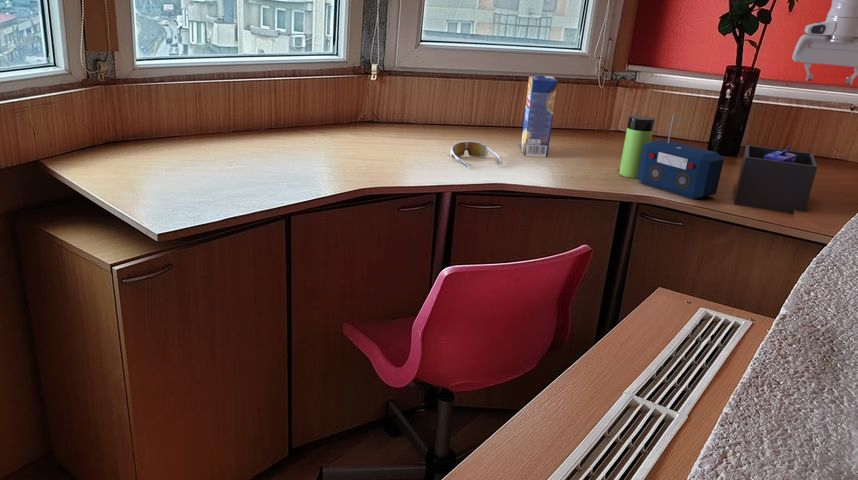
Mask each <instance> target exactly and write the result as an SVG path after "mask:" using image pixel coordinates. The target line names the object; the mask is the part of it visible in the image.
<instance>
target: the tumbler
mask: <svg viewBox="0 0 858 480" xmlns="http://www.w3.org/2000/svg"><path fill="white" fill-rule="evenodd" d="M655 122H656V118H655V117H653V116H649V115H648V116H647V115H639V114H632V115H629V116H628V121H627V126H626V132H625V137H624V143H623V150H622V155H621V161H620V167H619V173H618V174H619V175H620V176H622V177H625V178H628V179H629V178H630V179H638V178H637V177H638V172H639V166H640V161H641V155H642V150H643V145H645V144H647V143H650V142H652V140H653V139H652V138H653V133H654V128H655Z"/></svg>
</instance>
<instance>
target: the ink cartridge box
mask: <svg viewBox="0 0 858 480" xmlns="http://www.w3.org/2000/svg"><path fill="white" fill-rule="evenodd" d="M792 147H793V146H788V147H786V148H785V149H783V150H784V151H783V152H781V151H776V152H773V153H769V154H767V155H765V156H764V159H767V160H775V161H782V162H790V163H795V161H796V158H797V155H795V154H791V153H786V152H788V150H790V149H791V148H792Z"/></svg>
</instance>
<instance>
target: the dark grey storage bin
mask: <svg viewBox="0 0 858 480" xmlns="http://www.w3.org/2000/svg"><path fill="white" fill-rule="evenodd" d="M784 150H785V149H782V148H781V149H780V148H773V147H765V146H757V145H750V144H746V145H745V148H744V153H743V157H742V160H741V164H740V165H741V166H740V169H739V174H738V178H737V182H736V186H735V193H734V201H733V202H734V204H733V205H738V206H745V207H751V208H756V207H757V209H763V210H768V211H769V210H770V211H775V210H776V212H782V213H789V214H795V211H799V212H806V209H807V206H808V202H809V199H810V195H811V191H812V188H813V184H814V181H815V178H816V173H817V170H818V165H817V162H816V159H815V156H814V153H812V152H804V151H796V150H790V149H789V150H788V152H786V153H791V154H795V155H797V158H796V161H795V163H790V162H782V161H775V160H767V159H764V156H765V155H767V154H769V153H773V152H776V151H781V152H783V151H784Z"/></svg>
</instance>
